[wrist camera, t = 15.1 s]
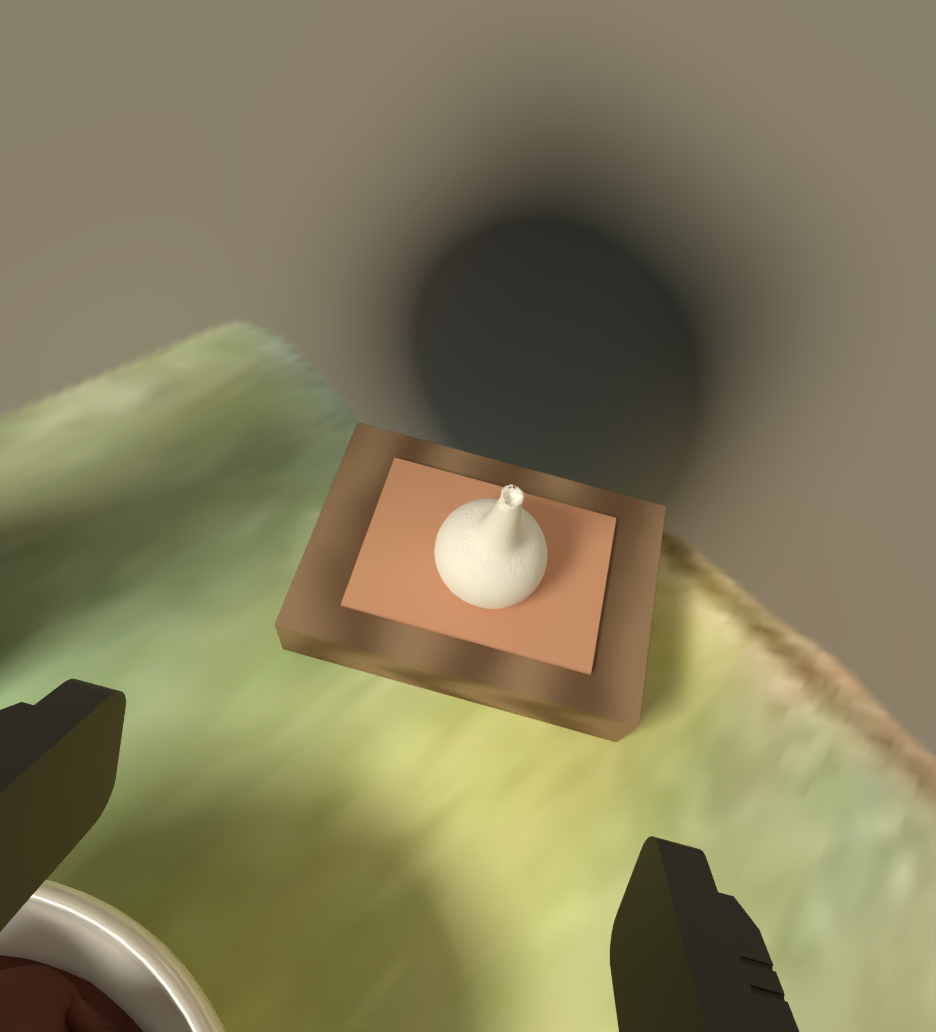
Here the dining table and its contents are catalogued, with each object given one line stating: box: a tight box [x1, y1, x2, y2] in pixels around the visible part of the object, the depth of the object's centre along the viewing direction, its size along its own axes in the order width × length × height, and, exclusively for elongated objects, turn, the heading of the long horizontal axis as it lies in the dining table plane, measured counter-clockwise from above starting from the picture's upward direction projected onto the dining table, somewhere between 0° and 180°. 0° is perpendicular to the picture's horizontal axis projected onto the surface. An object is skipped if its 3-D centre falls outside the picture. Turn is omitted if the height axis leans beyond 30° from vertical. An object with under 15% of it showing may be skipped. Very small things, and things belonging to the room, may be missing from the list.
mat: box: [341, 457, 616, 675], centre depth 41 cm, size 14×10×1 cm
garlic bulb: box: [434, 484, 548, 609], centre depth 38 cm, size 6×6×8 cm
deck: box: [275, 423, 666, 742], centre depth 43 cm, size 20×14×4 cm
